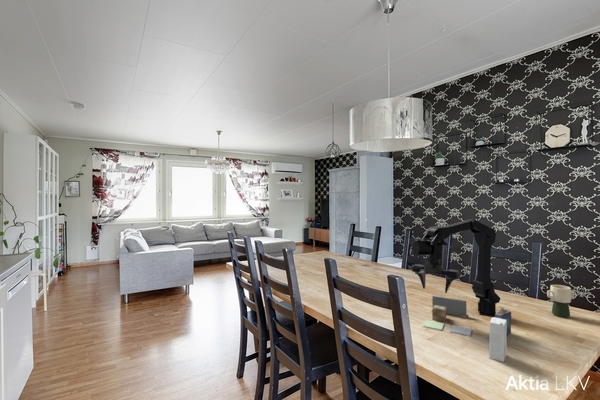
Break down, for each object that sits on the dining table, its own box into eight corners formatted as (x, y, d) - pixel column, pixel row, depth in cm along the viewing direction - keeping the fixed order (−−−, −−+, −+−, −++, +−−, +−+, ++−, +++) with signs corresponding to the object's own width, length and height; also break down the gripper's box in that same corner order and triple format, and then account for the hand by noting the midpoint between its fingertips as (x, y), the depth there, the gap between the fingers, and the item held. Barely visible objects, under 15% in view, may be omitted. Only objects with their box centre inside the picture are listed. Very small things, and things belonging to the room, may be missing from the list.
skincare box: (491, 351, 103) (491, 316, 103) (507, 355, 100) (507, 319, 100) (488, 358, 99) (488, 321, 99) (505, 363, 96) (504, 325, 96)
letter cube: (446, 318, 133) (446, 306, 133) (444, 322, 128) (444, 310, 128) (434, 316, 135) (433, 304, 135) (432, 319, 131) (432, 308, 131)
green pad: (444, 324, 126) (444, 323, 126) (442, 330, 120) (442, 329, 120) (426, 320, 130) (426, 320, 130) (423, 326, 124) (423, 325, 124)
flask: (500, 339, 112) (500, 310, 112) (492, 336, 114) (491, 308, 114) (512, 334, 117) (512, 306, 117) (504, 331, 119) (504, 304, 119)
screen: (466, 314, 136) (466, 299, 136) (466, 318, 132) (466, 302, 132) (433, 309, 144) (433, 294, 144) (431, 312, 139) (431, 297, 140)
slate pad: (471, 329, 121) (471, 328, 121) (470, 336, 115) (470, 335, 115) (452, 325, 124) (452, 324, 124) (450, 332, 118) (450, 331, 118)
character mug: (568, 313, 137) (567, 284, 137) (580, 319, 130) (580, 289, 130) (542, 312, 139) (541, 284, 139) (553, 318, 132) (552, 288, 132)
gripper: (407, 254, 132) (406, 289, 132) (453, 260, 120) (452, 299, 120) (417, 251, 141) (416, 285, 141) (460, 257, 128) (459, 294, 128)
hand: (434, 290), depth 132 cm, fingers open, 9 cm apart
